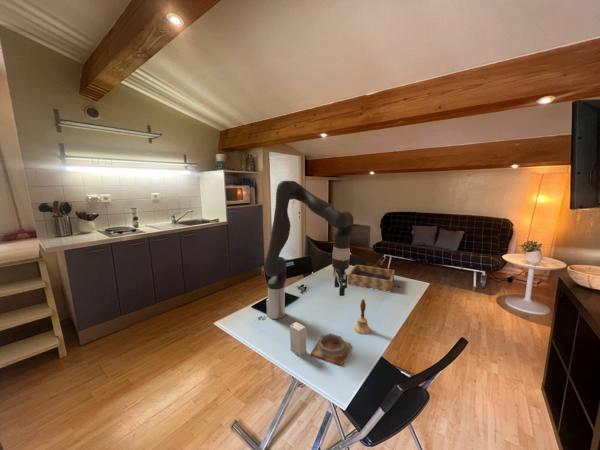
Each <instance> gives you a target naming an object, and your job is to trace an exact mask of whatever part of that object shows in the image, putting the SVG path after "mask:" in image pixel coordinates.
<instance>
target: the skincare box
mask: <svg viewBox="0 0 600 450" xmlns="http://www.w3.org/2000/svg"><path fill="white" fill-rule="evenodd" d="M306 328H307V327H306V326H305V325H303V324H301V323H299V322H297V321H295V322H294V323H291V324H290V325H289V339H290V340H289V341H290V343H289V344H290V351H292V352H293V353H295V354H296V355H297V356H299V357H302V356H303V355H305V354H306V353H307V331H306V330H307V329H306Z"/></svg>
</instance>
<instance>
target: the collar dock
mask: <svg viewBox="0 0 600 450" xmlns="http://www.w3.org/2000/svg"><path fill="white" fill-rule="evenodd" d="M351 346H352V343H350V342H347V341H345V340H344V339H343V337H342V336H341V335H337V334H334V333H327V334H322V335H321V336H320V337H319V339H318V340H317V342H316V344H315V345H314V347H313V349H312V350H311V352H310V356H311V357H314V358H317V359H320V360H323V361H326V362H329V363H331V364H335V365H337V366H341V367H343V366H344V364H345V361H346V359H347V356H348V354H349V351H350V348H351Z"/></svg>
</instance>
